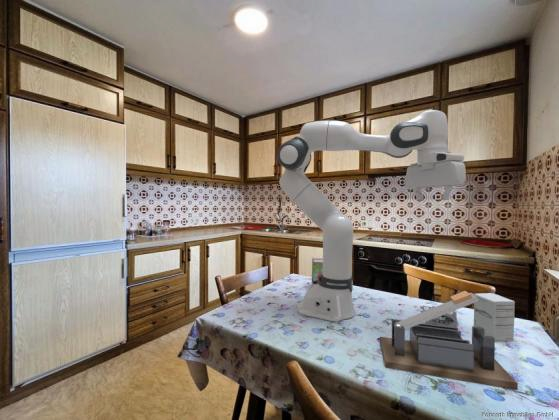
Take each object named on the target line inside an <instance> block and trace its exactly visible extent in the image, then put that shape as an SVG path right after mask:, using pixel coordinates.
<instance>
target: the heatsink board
mask: <svg viewBox="0 0 559 420" xmlns="http://www.w3.org/2000/svg"><path fill="white" fill-rule="evenodd" d="M399 321H402V320H401V319H396V318H391V337H386V336H379V345H380V349H381V352H382V358H383V363H384V367H385V368H389V369H394V370H399V371H405V372H409V373H410V372H411V373H416V374H423V375H428V376H429V375H430V376H435V377H439V378H440V377H442V378H448V379H453V380H457V381H458V380H459V381H465V382H469V383H470V382H471V383H475V384H476V383H477V384H482V385H486V386H495V387H499V388H507V389H512V390H517V391H518V390H519V389H518V387H519V384H518V382H517V381H516V379H514V378H513V377H512V375H511V374H510V373H509V372H508V371H507V370H506V369H505V368H504V367H503V366H502V365H501V364H500V363H499V362H498V361H497V360H496V358H495V356H496V354H495V353H496V352H495V349H496V347H495V345H496V343H495V342H496V341H495V338H494V337H493V336H485V329H484V328H483V327H474V325H472V327H471V342H470V340H468V339H464V338H462V331H461V330H459V328H458V326H457V327H448V326H440V325H431V324H426V323H421V324H419V325H416V326H414V327H411V328H409V340H408V339H406V338H405V337H406V333H405V332H406V330H405V328H404V327H398V326H395V327H394V323H395V322H399Z"/></svg>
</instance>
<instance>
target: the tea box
mask: <svg viewBox="0 0 559 420" xmlns="http://www.w3.org/2000/svg"><path fill="white" fill-rule="evenodd" d="M311 260H312V261H311V288H312V287H314V286H315V285H317V284H318V282H317V279H318V277H317V276H318V274H319V273H322V274H323V257H321V258H320V257H319V258H317V257H316V258H315V257H312V259H311Z"/></svg>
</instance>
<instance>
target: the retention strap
mask: <svg viewBox="0 0 559 420" xmlns="http://www.w3.org/2000/svg"><path fill="white" fill-rule="evenodd" d="M474 294H475V293H472V292H467V291H466V290H463V291H460V292H458V293H456V294H454V295H451V296H450V300H449V301H446V302H444V303H441V304H438V305H436V306H433V308H431V309H429V308H428V309H429V310H426V311H424V312H421V313H417V314H414V315H412V316H410V317H406V318H404V319H402V320H401V321H399V322H395V323H394V327H395V326H398V327H404V328H405V331H406V330H407V329H410V328H411V327H414V326H416V325H419V324H421V323H423V324H425V322H426V321H429V320H431V319H434V318H437V317H439V316H442V315H444V314H447V313H449V312H451V313H453V312H452V311H457V310H459V309H462V308H465V307H467V306H470V305H472V304H474V303H475V302H478V301H479V299H478V298H477V296H475V295H474ZM449 314H450V313H449Z"/></svg>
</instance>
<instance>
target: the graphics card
mask: <svg viewBox="0 0 559 420" xmlns="http://www.w3.org/2000/svg"><path fill="white" fill-rule="evenodd" d="M419 307H420V308H419V309H421V310H420V312H424V311H426V310H429V309H431V308H434V306H428V305H421V306H419ZM457 313H458V312H457V311H456V310H454V311H452V312H449V313H447V314H444V315H442V316H439V317H437V318H434V319H431V320H429V321H426V322H424V324H431V325H440V326H448V327H457V328H458V327H459V321H458V318H457Z"/></svg>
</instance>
